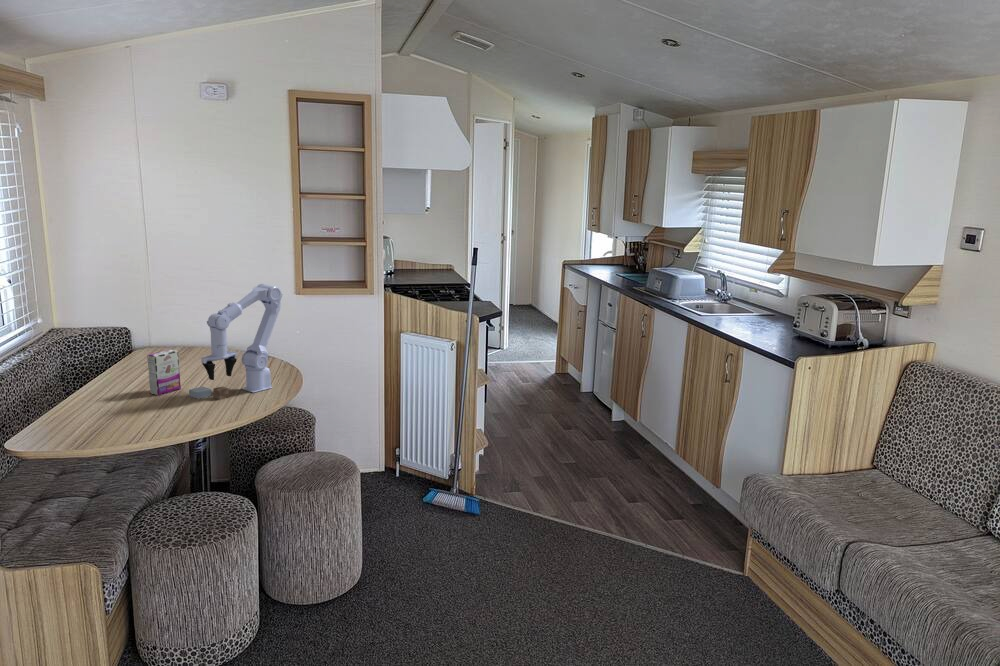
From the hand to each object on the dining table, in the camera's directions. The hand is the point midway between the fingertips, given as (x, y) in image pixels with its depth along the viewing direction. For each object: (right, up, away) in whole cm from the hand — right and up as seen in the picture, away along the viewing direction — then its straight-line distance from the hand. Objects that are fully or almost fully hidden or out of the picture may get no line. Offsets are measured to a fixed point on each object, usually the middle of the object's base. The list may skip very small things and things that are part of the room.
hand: (220, 377), depth 281 cm
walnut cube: (0, -8, +2) cm, 8 cm away
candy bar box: (-25, -6, +7) cm, 26 cm away
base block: (-9, -8, +3) cm, 12 cm away
